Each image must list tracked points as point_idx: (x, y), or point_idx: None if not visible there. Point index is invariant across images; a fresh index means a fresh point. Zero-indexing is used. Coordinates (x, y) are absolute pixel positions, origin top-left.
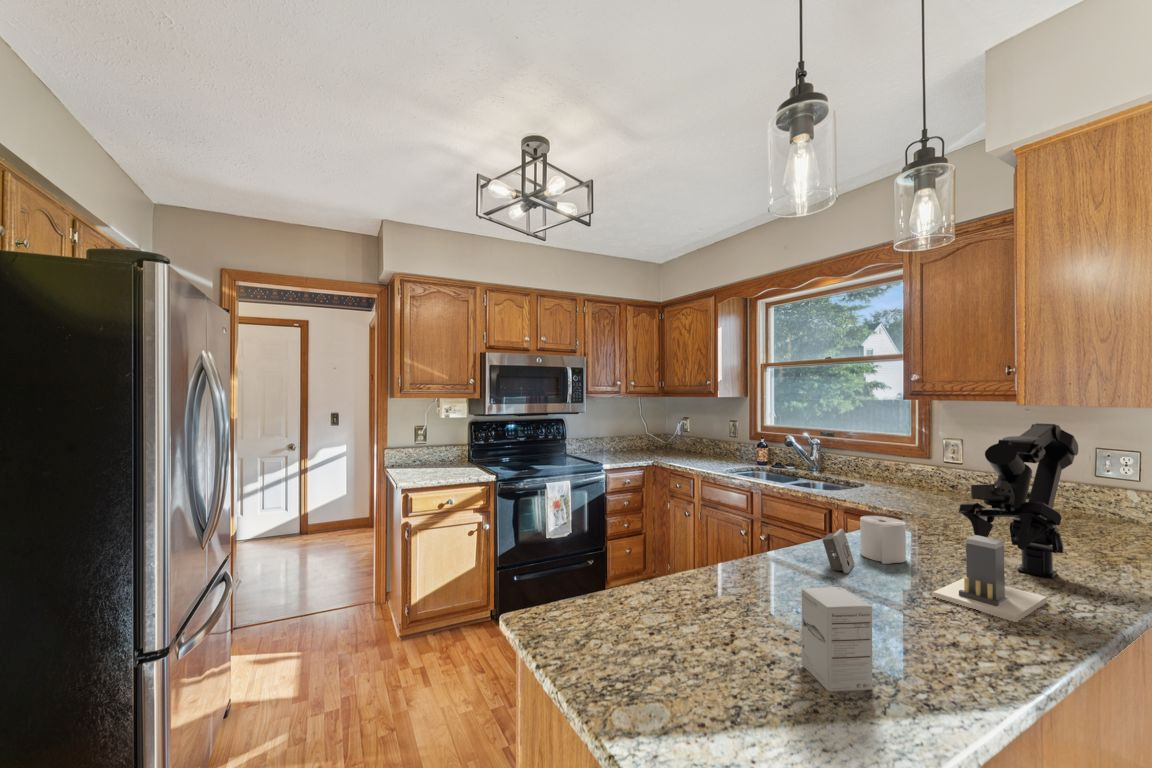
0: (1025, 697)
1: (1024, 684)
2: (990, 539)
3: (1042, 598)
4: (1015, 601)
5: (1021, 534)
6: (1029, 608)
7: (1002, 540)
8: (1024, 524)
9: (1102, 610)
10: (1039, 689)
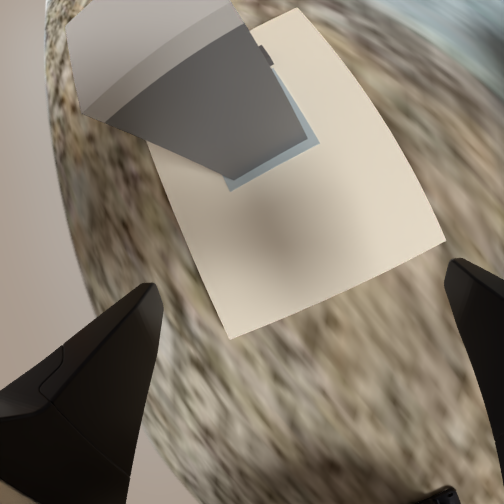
0: (48, 14)
1: (54, 21)
2: (116, 40)
3: (218, 309)
4: (206, 190)
5: (89, 335)
6: (165, 189)
7: (83, 103)
8: (21, 393)
9: (183, 417)
10: (46, 30)
